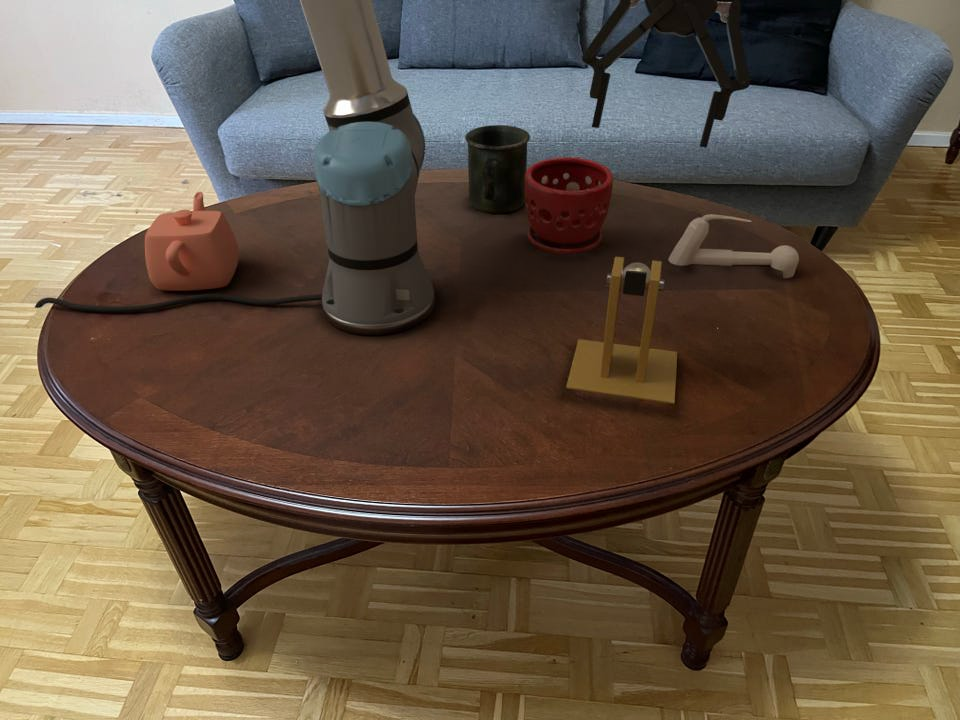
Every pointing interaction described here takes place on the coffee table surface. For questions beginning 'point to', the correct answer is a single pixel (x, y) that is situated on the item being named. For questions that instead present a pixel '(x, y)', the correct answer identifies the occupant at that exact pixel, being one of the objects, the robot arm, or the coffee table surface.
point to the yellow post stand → (626, 353)
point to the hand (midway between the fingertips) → (648, 137)
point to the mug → (497, 167)
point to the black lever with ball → (635, 279)
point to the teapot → (191, 249)
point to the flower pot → (567, 204)
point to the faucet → (696, 233)
